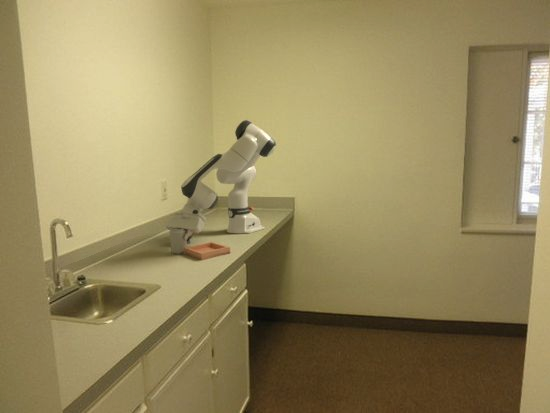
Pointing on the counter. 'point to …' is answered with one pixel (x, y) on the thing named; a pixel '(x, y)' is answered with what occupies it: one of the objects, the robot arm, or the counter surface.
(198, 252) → the dish
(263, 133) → the robot arm
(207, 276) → the counter surface
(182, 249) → the can
